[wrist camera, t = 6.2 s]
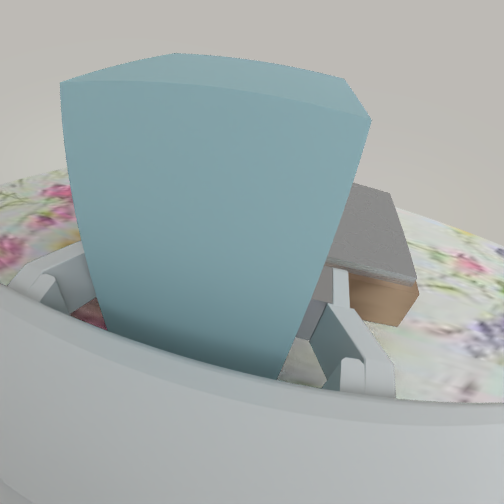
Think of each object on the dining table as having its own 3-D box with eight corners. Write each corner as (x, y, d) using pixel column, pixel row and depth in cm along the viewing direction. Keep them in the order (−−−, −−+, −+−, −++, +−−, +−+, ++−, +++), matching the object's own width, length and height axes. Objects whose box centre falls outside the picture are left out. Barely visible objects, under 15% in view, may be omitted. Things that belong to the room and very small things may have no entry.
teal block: (142, 415, 13) (59, 82, 4) (175, 337, 17) (174, 53, 8) (245, 445, 13) (371, 119, 4) (263, 360, 16) (344, 79, 8)
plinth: (90, 252, 21) (81, 205, 18) (158, 178, 30) (158, 140, 27) (397, 326, 19) (425, 285, 17) (379, 227, 29) (393, 192, 26)
